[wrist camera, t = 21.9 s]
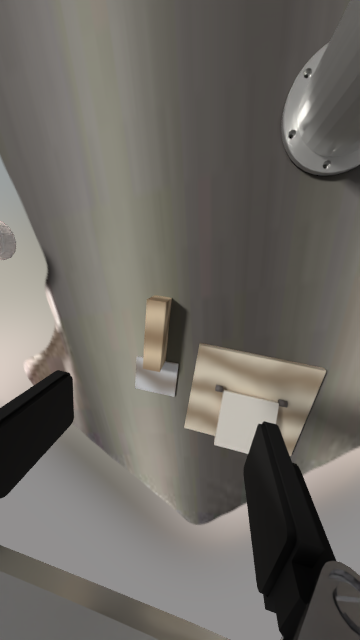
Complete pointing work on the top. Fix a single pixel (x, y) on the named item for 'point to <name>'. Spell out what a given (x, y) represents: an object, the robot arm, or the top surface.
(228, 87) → the top surface
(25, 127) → the top surface
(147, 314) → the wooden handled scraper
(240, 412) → the tile
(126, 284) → the top surface
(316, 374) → the board
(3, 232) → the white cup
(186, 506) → the top surface
